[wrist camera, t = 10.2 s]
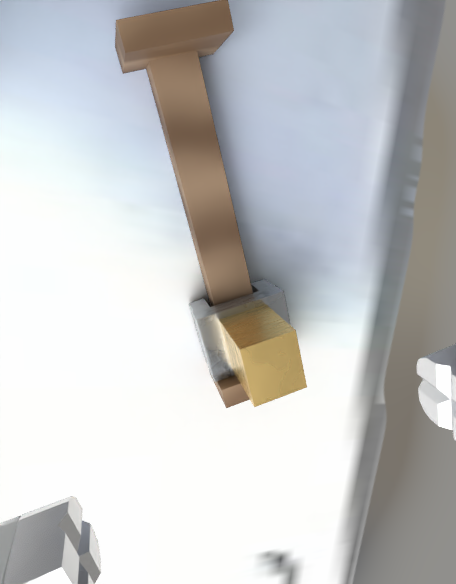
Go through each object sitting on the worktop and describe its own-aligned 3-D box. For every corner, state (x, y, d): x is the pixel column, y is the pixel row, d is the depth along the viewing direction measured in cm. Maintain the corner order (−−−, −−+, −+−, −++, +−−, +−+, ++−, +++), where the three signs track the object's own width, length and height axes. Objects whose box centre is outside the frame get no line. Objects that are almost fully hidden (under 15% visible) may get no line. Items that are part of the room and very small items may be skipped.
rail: (115, 46, 25) (116, 20, 21) (207, 28, 26) (227, -2, 22) (210, 375, 34) (226, 408, 29) (278, 350, 35) (303, 379, 30)
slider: (187, 303, 31) (213, 350, 23) (265, 278, 32) (316, 314, 24) (204, 360, 33) (233, 422, 25) (277, 334, 34) (329, 385, 26)
